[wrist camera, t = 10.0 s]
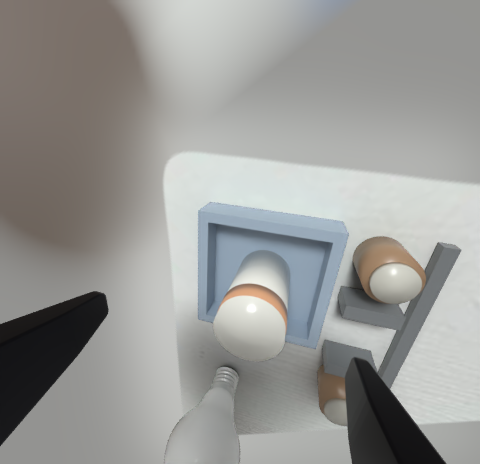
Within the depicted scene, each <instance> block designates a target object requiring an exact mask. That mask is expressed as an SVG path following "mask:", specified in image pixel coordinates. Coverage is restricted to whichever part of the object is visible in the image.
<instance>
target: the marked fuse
mask: <svg viewBox="0 0 480 464" xmlns="http://www.w3.org/2000/svg"><path fill="white" fill-rule="evenodd" d="M290 276H291V273H290V268H289V266H288V264H287V262H286V261H285V260H284V259H283V258H282V257H281V256H280V255H278V254H277V253H275V252H272V251H268V250H258V251H254V252H251V253H250V254H248V255H247V256H246V257H245V258H244V259H243V261H242V263H241V265H240V267H239V269H238V271H237V273H236V275H235V277H234V279H233V281H232V283H231V286H230V288H229V290H228V292H227V293H226V294H225V296H224V298H223V300H222V302H221V304H220V306H219V308H218V311H217V314H216V316H215V318H214V322H213V331H214V334H215V337H216V339H217V340H218V342H219V343H220V345H221V346H222V347H223V348H224V349H225V350H227V351H228V352H229V353H231V354H232V355H234V356H236V357H238V358H241V359H244V360H248V361H257V362H258V361H266V360H269V359H272V358H274V357H275V356H277V355H278V354H279V353H280V352H281V351H282V349H283V346H284V342H285V335H286V330H287V318H288V313H287V310H288V298H289V287H290Z"/></svg>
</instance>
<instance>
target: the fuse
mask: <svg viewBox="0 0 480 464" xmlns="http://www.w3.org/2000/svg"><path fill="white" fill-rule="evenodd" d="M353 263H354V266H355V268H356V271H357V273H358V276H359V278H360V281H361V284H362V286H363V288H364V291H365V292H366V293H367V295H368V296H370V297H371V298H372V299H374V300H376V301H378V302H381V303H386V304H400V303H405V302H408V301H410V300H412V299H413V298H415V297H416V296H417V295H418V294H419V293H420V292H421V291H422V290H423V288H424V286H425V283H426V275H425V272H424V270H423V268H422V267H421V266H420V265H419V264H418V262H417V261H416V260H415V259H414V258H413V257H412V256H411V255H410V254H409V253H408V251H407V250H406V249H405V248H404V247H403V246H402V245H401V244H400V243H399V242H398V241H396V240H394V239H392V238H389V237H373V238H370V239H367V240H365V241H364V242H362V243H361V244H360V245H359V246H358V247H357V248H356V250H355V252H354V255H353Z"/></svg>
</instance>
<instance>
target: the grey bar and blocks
mask: <svg viewBox="0 0 480 464" xmlns="http://www.w3.org/2000/svg"><path fill="white" fill-rule="evenodd" d="M460 252H461V249H460V248H458V247H457V246H455V245H452V244H445V243H439V242H438V244H437V246H436V248H435V250H434V253H433V255H432V257H431V259H430V261H429V263H428V266H427V268H426V270H425V275H426V283H425V286H424V288H423V290H422V291H421V292H420V293H419V294H418V295H417V296H416V297H415V298H413V299H412V300H411V302H410V304H409V307H408V309H407V311H406V313H405V315H404V314H403V312H402V310H401V309H400V307H399V305H398V304H386V303H381V302H378V301H376V300H374V299H372V298H371V297H370V296H368V295H367V293H366V292H365V291H364V290H359V289H354V288H349V287H344V286H341V289H340V292H339V295H338V301H339V305H340V310H341V314H342V318H345V319H349V320H354V321H358V322H363V323H367V324H372V325H376V326H380V327H385V328H389V329H394V330H397V332H396V335H395V337H394V339H393V341H392V343H391V345H390V348H389V350H388V352H387V354H386V356H385V358H384V360H383V363H382V365H381V367H380V369H379V371H378V374H379V376H380V377H381V378H382V380H383V381H384V382H385V384H386V385H387V386H388V388H389V389H390V388H391V386H392V384H393V382H394V380H395V378H396V376H397V374H398V372H399V370H400V368H401V366H402V364H403V362H404V360H405V359H406V357H407V355H408V353H409V351H410V349H411V347H412V345H413V343H414V341H415V339H416V337H417V335H418V333H419V331H420V329H421V328H422V326H423V324H424V322H425V320H426V318H427V316H428V314H429V312H430V310H431V308H432V306H433V304H434V302H435V300H436V298H437V297H438V295H439V293H440V291H441V289H442V287H443V285H444V283H445V281H446V279H447V277H448V275H449V273H450V271H451V269H452V267H453V266H454V264H455V262H456V260H457V258H458V256H459V254H460ZM322 352H323V363H324V373H328V374H332V375H335V376H339V377H343V378H345V374H346V371H347V369H348V366H349V364H350V361H351V359H352V358H353V357H358V358H362V359H365V360H367V361H368V362H369V363H370V364H371V365H372V367H373V368H374V369H375V371H376V372H377V370H376V367H375V364H374V360H373V357H372V354H371V351H368V350H364V349H360V348H356V347H352V346H348V345H344V344H340V343H336V342H332V341H328V340H325V341H324V345H323V348H322Z"/></svg>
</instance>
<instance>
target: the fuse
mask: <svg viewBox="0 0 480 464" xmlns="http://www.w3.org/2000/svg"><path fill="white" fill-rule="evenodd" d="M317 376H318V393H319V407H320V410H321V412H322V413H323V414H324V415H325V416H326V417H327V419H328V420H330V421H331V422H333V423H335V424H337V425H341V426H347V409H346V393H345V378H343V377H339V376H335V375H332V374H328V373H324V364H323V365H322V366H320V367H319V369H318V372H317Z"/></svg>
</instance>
